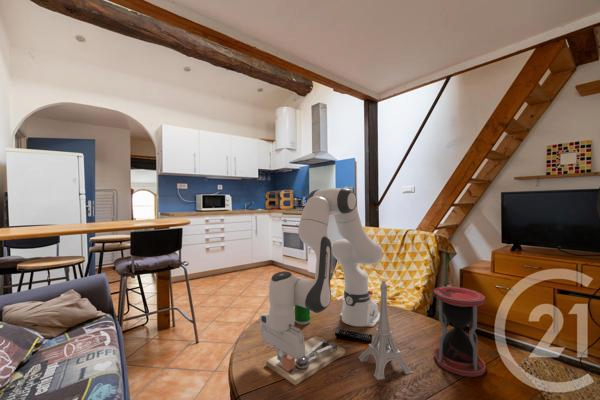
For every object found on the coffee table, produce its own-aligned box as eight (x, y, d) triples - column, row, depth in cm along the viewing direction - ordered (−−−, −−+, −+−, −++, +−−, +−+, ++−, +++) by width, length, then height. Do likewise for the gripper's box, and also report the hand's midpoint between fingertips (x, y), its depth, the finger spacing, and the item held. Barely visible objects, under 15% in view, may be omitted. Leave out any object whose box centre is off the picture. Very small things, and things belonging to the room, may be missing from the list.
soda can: (309, 326, 129) (309, 300, 129) (293, 324, 130) (293, 299, 131) (311, 319, 136) (311, 295, 136) (296, 318, 138) (296, 294, 138)
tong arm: (303, 369, 92) (303, 363, 92) (294, 365, 95) (294, 359, 95) (329, 345, 108) (329, 339, 108) (320, 342, 110) (320, 337, 110)
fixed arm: (300, 371, 92) (300, 364, 92) (292, 365, 96) (292, 358, 96) (340, 352, 103) (340, 346, 103) (331, 347, 107) (331, 341, 107)
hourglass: (460, 348, 109) (459, 284, 109) (497, 373, 93) (497, 298, 93) (424, 353, 106) (423, 287, 106) (456, 380, 90) (455, 302, 90)
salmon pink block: (288, 363, 96) (288, 353, 96) (294, 367, 93) (294, 357, 93) (282, 367, 94) (282, 357, 94) (288, 371, 91) (288, 360, 91)
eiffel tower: (377, 380, 90) (377, 287, 90) (358, 358, 103) (357, 277, 103) (412, 373, 94) (412, 284, 94) (389, 352, 107) (389, 274, 107)
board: (315, 339, 116) (315, 335, 116) (345, 353, 106) (345, 349, 106) (266, 365, 98) (266, 360, 98) (295, 385, 87) (295, 379, 87)
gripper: (309, 327, 91) (309, 369, 91) (270, 309, 105) (271, 346, 105) (295, 333, 86) (295, 378, 86) (257, 314, 101) (257, 352, 101)
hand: (281, 360), depth 96 cm, fingers closed
